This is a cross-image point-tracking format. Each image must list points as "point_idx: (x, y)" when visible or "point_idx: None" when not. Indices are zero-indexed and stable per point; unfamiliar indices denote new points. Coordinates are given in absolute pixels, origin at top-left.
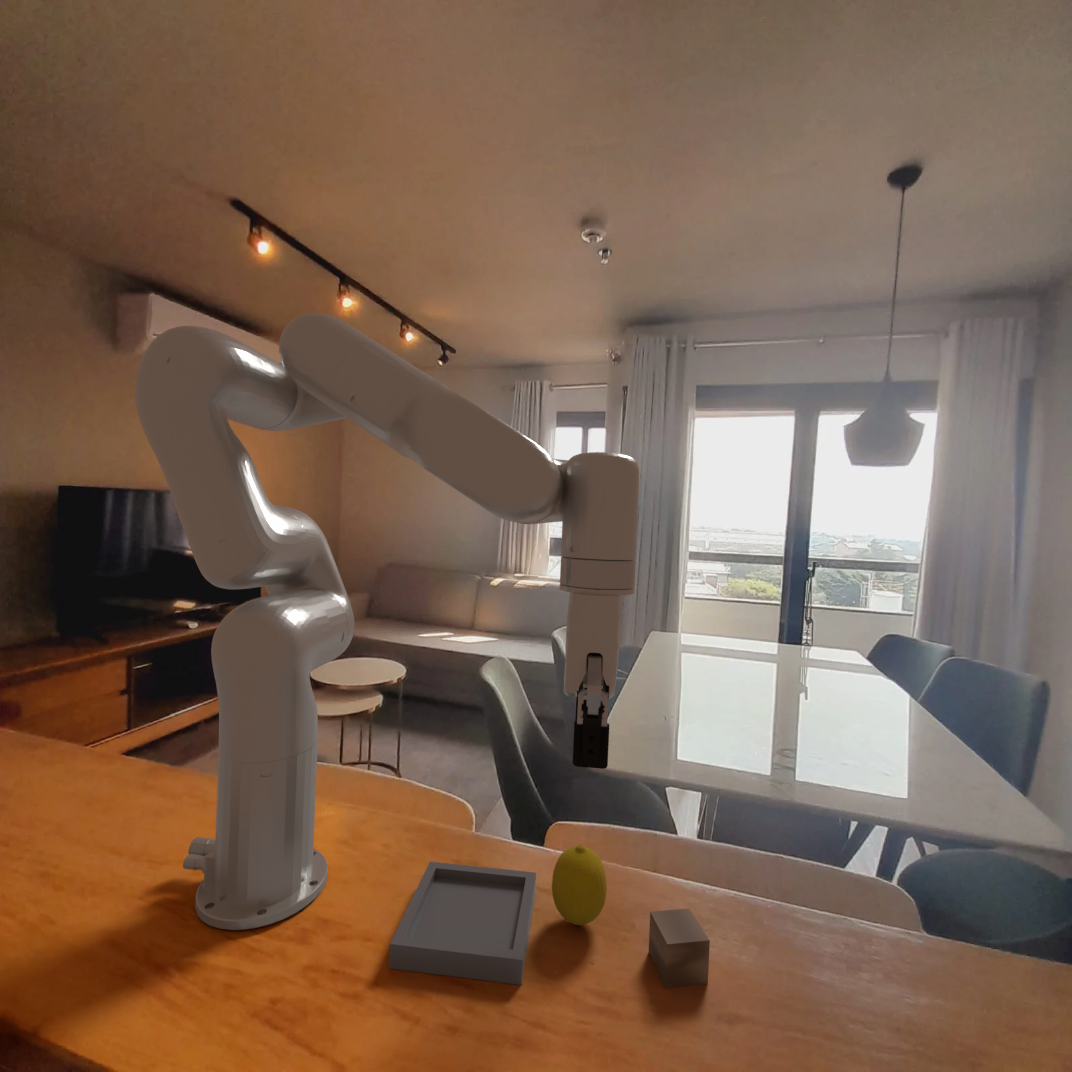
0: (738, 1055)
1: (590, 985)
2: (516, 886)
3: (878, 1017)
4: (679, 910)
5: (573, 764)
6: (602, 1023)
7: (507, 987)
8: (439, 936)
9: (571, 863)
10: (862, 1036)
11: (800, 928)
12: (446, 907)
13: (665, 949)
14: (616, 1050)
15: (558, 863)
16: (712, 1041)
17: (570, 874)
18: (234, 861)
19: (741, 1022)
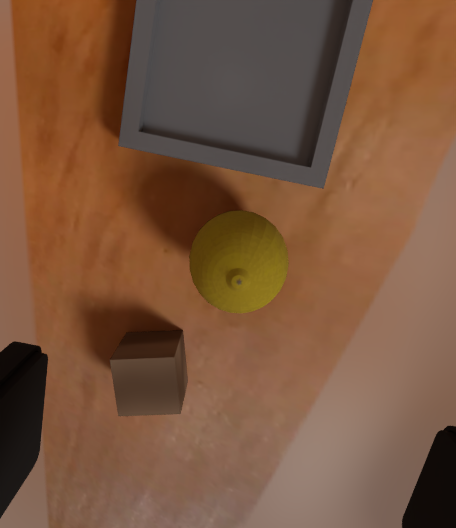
0: (46, 376)
1: (129, 241)
2: (310, 149)
3: (94, 524)
4: (175, 398)
5: (17, 342)
6: (76, 244)
7: None
8: (194, 2)
9: (213, 253)
10: (73, 498)
11: (216, 521)
12: (263, 9)
13: (118, 354)
14: (43, 252)
15: (238, 229)
16: (60, 358)
17: (202, 247)
18: None
19: (83, 396)
